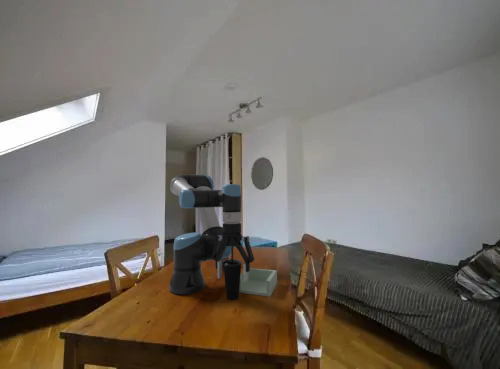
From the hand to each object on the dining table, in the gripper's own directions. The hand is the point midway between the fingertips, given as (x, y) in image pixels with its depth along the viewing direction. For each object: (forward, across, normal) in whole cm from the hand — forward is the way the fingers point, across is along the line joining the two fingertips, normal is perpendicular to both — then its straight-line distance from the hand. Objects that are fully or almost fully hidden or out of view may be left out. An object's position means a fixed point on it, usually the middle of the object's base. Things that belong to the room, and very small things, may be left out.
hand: (232, 278), depth 92 cm
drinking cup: (+8, 0, 0) cm, 8 cm away
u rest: (+7, +7, +12) cm, 16 cm away
